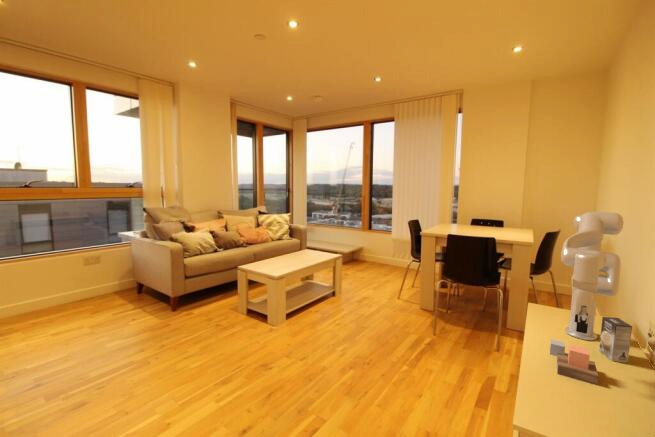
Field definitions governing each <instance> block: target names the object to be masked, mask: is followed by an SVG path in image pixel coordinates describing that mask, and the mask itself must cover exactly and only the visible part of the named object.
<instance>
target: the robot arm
mask: <svg viewBox="0 0 655 437" xmlns="http://www.w3.org/2000/svg"><path fill="white" fill-rule="evenodd" d="M624 222H625V221H624V218H623V216H622V214H620V213H618V212H606V211H605V212H603V211H588V212H584V213H582V214H581V215H576V216H575V217H574V219H573V226H574V227H573V228H574V230H575V233H574V234H572V235H570V236H569V237H568V238H566V239H565V241H564V242H563V244H562V247H561V253H560V260H561V262H562V264H563V265H565V266H568V267H573V273H572V275H571V282H570V283H571V303H570V312H569V325H568V326H567V327H565V328H564V332H565V333H566V334H567V335H569V336H571V337H573V338H576V339H579V340H584V341H596V340H597V339H598V335H597V334H596V333H594V330H595V329H594V328H595V321H596V320H595V319H596V310H597V300H596V299H595V298H594V296H593V295H594V294H595V295H600V296H606V297H616V296H617V295H618V292H619V287H620V275H621V265H622V263H621V258H620V256H619V255H618V254H616V253H613V252H605V251H602V242H603V240H604V235H609V236H610V235H611V236H617V235H619V234H621V232H622V230H623V228H624V225H625V224H624ZM601 273H605V274H601Z"/></svg>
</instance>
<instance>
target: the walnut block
mask: <svg viewBox="0 0 655 437" xmlns="http://www.w3.org/2000/svg"><path fill="white" fill-rule="evenodd" d="M596 366H597V365H596V362H595V361H592V360H589V366H588V370H586V369H582V368H579V367H575V366H571V365H568V354H565V353H564V354H561V353H558V354H557V356H556V369H557V370H556V373H557V375H559V376H563V377H567V378H571V379H573V380H577V381H581V382H585V383H588V384H591V385H595V386H598V383H599V374H598V370H597V367H596Z"/></svg>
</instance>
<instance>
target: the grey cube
mask: <svg viewBox="0 0 655 437" xmlns="http://www.w3.org/2000/svg"><path fill="white" fill-rule="evenodd" d="M565 350H566V343H565V342H564V341H560V340H556V339H550V345H549V355H551V356H553V357H554V356H555V357H557V354H558V353H561V354H565V352H566V351H565Z"/></svg>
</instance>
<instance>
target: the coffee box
mask: <svg viewBox="0 0 655 437" xmlns="http://www.w3.org/2000/svg"><path fill="white" fill-rule="evenodd" d="M601 318H602V319H601V330H600V336H599V345H598V351H599V352H600V353H602V354H603V355H604V356H605V357H606V358H607V359H608V360H610V361H612V362H618V363H619V362H620V363H628V362H629V356H630V348H631V339H632V333H633V325H630V324H629V323H627V322H626V321H625V320H622V319H621V318H619V317H611V316H602V317H601Z"/></svg>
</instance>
